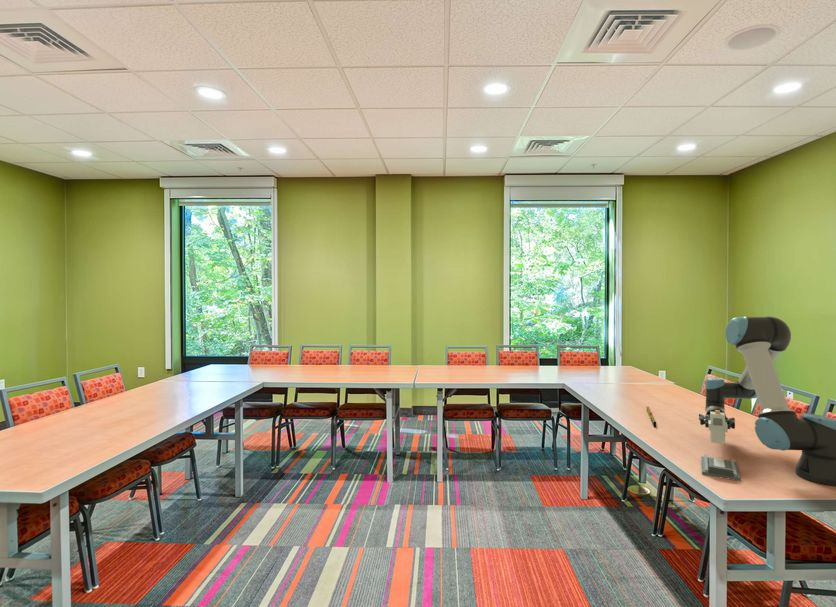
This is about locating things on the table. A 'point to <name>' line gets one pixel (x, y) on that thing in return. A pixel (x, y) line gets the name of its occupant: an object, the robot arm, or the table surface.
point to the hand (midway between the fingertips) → (718, 428)
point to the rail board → (727, 464)
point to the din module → (717, 427)
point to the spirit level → (651, 417)
